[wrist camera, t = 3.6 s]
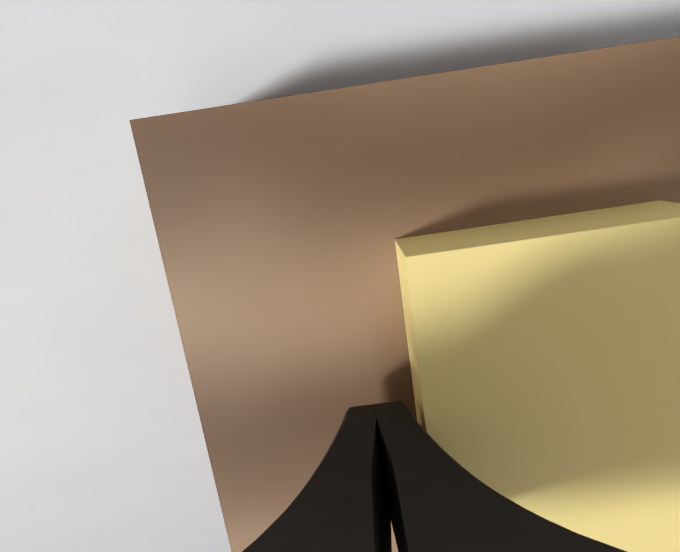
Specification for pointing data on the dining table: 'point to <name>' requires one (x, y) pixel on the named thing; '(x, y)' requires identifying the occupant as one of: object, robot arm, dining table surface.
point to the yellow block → (557, 364)
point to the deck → (369, 231)
